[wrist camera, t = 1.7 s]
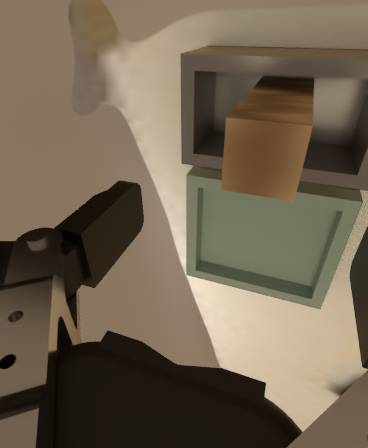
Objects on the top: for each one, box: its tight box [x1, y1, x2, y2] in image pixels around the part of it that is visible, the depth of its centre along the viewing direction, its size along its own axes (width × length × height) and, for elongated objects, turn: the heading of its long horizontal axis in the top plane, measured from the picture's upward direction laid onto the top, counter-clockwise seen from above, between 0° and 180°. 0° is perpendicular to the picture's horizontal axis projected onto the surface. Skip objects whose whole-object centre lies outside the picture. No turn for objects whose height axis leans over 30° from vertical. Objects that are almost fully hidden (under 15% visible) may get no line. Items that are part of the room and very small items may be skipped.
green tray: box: [186, 165, 363, 309], centre depth 33 cm, size 16×14×3 cm
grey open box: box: [181, 46, 368, 191], centre depth 23 cm, size 14×8×7 cm, turn 91°
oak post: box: [221, 76, 314, 202], centre depth 20 cm, size 4×4×13 cm
